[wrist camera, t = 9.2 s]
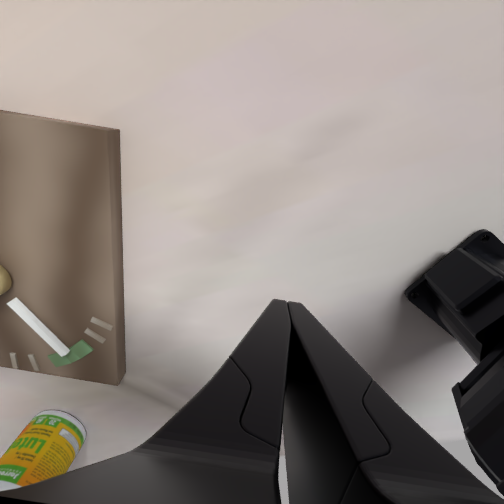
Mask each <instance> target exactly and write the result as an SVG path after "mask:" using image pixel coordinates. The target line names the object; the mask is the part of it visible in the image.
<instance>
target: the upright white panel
mask: <svg viewBox="0 0 504 504" xmlns="http://www.w3.org/2000/svg"><path fill="white" fill-rule="evenodd" d="M11 283H12V282H11V277H10V275H9V273H8V272H7V271H6V269H5V268H3V267H2V266H1V265H0V295H2V294H3V293H5V292H6V291H8V290H9V289H10V287H11ZM7 305H8V306H9V307H10V308H11V309H13V310H14V311H15V312H16V313H17V314H18V315H19V316H20V317H21V318H22V319H23V320H24V321H25V322H26V323H27V324H28V325H29V326H30V327H31V328H32V329H33V330H34V331H35V332H36V333H37V334H38V335H39V336H40V337H41V338H43V339H44V340H45V341H46V342H47V343H48V344H49V345H50V346H51V347H52V348H53V349H54V350H55V351H56V352H57V353H58V354H59V355H60V356H61V357H62V356H64V355H66V354H67V353H68V352H69V351H70V350H69V349H68V348H67V347H66V346H65V345H64V344H63V343H62V342H61V341H60V340H59V339H58V338H57V337H56V336H55V335H54V334H53V333H52V332H51V331H50V330H49V329H48V328H47V327H46V326H45V325H44V324H43V323H42V322H41V321H40V320H39V319H38V318H37V317H36V316H35V315H34V314H33V313H32V312H31V311H30V310H29V309H28V308H27V307H26V306H25V305H24V304H23V303H22V302H21V301H20V300H19V299H18V298H17V297H16V298H14V299H13V300H11V301H10V302H8V303H7Z"/></svg>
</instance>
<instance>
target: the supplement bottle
mask: <svg viewBox="0 0 504 504" xmlns="http://www.w3.org/2000/svg"><path fill="white" fill-rule="evenodd" d="M85 438H86V431H85V429H84V427H83V425H82V424H81V423H80V422H79V421H78V420H77V419H76V418H74V417H73V416H71V415H69V414H67V413H65V412H62V411H57V410H47V411H43V412H40V413H39V414H37V415H36V416H35V417H34V418H33V419H32V420H31V421H30V423H29V424H28V425H27V426H26V427H25V429H24V430H23V431H22V432H21V434H20V435H19V436H18V437H17V439H16V440H15V441H14V442H13V444H12V445H11V446H10V447H9V449H8V450H7V451H6V452H5V454H4V455H3V456H2V457H1V458H0V491H4V490H9V489H15V488H19V487H23V486H27V485H30V484H34V483H37V482H40V481H43V480H46V479H49V478H52V477H55V476H58V475H61V474H64V473H66V472H67V470H68V468H69V467H70V465H71V463H72V462H73V460H74V458H75V456H76V455H77V453H78V451H79V450H80V448H81V446H82V445H83V443H84V441H85Z"/></svg>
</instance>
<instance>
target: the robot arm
mask: <svg viewBox="0 0 504 504" xmlns="http://www.w3.org/2000/svg"><path fill="white" fill-rule="evenodd" d="M484 235H486V236H485V238H484V239H483V240H481V238H482V237H483V236H484ZM414 292H416V294H415V295H413V296H411V294H412V293H414ZM405 295H406V297H407V298H408V299H409V301H411V302H412V303H413V304H414V305H416V306H417V307H418V308H419V309H420V310H422V311H423V312H424V313H425V314H426V315H428V316H429V317H430V318H431V319H432V320H434V321H435V322H436V323H437V324H438V325H440V326H441V327H442V328H443V329H445V330H446V331H447V332H448V333H449V334H451V335H452V336H453V337H454V338H455V339H457V341H458V342H459V343H460V344H461V345H462V347H463V348H464V349H465V350H466V351H467V353H468V354H469V355H470V356H471V358H472V359H473V360H474V361H475V362H476V364H477V366H476V367H475V368H474V369H473V370H472V371H471V372H470V373H469V374H468V375H467V376H466V377H465V378H464V379H463V381H462V382H461V383H459V382H458V383H457V384H456V385H455V386H454V387H453V388H452V393H453V396H454V399H455V402H456V406H457V409H458V412H459V415H460V419H461V422H462V425H463V428H464V433H465V437H466V440H467V441H468V445H469V447H470V449H471V452H472V454H473V455H474V457H475V460H476V462H477V464H478V465H479V466H480V467H481V468H482V469H483V470H484V472H485V473H486V474H487V475H488V477H489V478H490V479H491V480H492V481H493V482H494V484H496V487H497V489H498V490H499V492H500V493H501V494H502V495H503V496H504V244H503V243H502V242H501V241H500V240H499V239H498V238H497V237H496V236H495V235H494V234H493V233H491V232H489V231H488V230H485V229H482V230H479V231H477V232H476V233H474V234H473V235H472V236H471V237H470V238H468V239H467V240H466V241H465V242H464V243H462V244H461V245H460V246H459V247H457V248H456V249H454V250H453V251H452V252H451V253H450V254H448V255H447V256H446V257H445V258H443V259H442V260H441V261H440V262H439V263H437V264H436V265H435V266H434V267H433V268H431V269H430V270H429V271H428V272H426V274H425V275H423V276H422V277H421V278H420V279H419V280H417V281H416V282H415V283H414V284H412V285H411V286H410V287H409V288H408V289H407V290H406V292H405ZM372 380H373V379H372V378H371V377H370V376H369V374H368V373H367V372H366V371H365V370H364V369H363V368H362V367H361V366H360V365H359V364H358V363H357V362H356V361H355V360H354V359H353V357H352V356H351V355H350V354H349V353H348V352H347V351H346V350H345V349H344V348H343V347H342V346H341V345H340V344H339V343H338V342H337V340H336V339H335V338H334V337H333V336H332V335H331V334H330V333H329V332H328V331H327V330H326V329H325V328H324V327H323V326H322V325H321V323H320V322H319V321H318V320H317V319H316V318H315V317H314V316H313V315H312V314H311V313H310V312H309V311H308V310H307V309H306V308H305V306H304V305H303V304H301V303H297V302H291V301H289V302H286V301H285V300H278V299H273V300H272V301H271V302H270V304H269V305H268V306H267V308H266V309H265V310H264V312H263V313H262V314H261V315H260V317H259V318H258V319H257V321H256V322H255V323H254V325H253V326H252V327H251V329H250V330H249V331H248V333H247V334H246V335H245V337H244V338H243V339H242V340H241V342H240V343H239V344H238V346H237V347H236V348H235V350H234V351H233V352H232V354H231V355H230V356H229V358H228V359H227V360H226V361H225V363H224V364H223V365H222V366H221V368H220V369H219V370H218V371H217V373H216V374H215V375H214V376H213V377H212V379H211V380H210V381H209V382H208V383H207V384H206V385H205V386H204V387H203V388H202V389H201V390H200V391H199V392H198V393H197V394H196V395H195V396H194V397H193V398H192V399H191V400H190V401H189V402H188V403H187V404H186V405H185V406H184V407H182V408H181V409H180V410H179V411H178V412H177V413H176V414H175V415H174V416H173V417H172V418H171V419H170V420H169V421H168V422H167V423H166V424H165V425H164V426H163V427H162V428H161V429H159V430H158V431H157V432H156V433H155V434H154V435H153V436H152V437H151V438H149V439H148V440H147V441H146V442H144V443H143V444H141V445H140V446H138V447H137V448H135V449H133V450H132V451H130V452H127V453H125V454H122V455H119V456H116V457H113V458H110V459H107V460H104V461H101V462H98V463H95V464H91V465H88V466H85V467H82V468H79V469H76V470H73V471H70V472H67V473H64V474H61V475H58V476H55V477H52V478H49V479H46V480H43V481H40V482H37V483H34V484H30V485H27V486H23V487H19V488H15V489H9V490H4V491H0V504H281V498H280V490H279V483H278V469H279V452H280V445H281V434H282V423H283V434H284V446H285V458H286V470H287V481H288V493H289V504H504V499H502V498H501V497H499V496H498V495H496V494H495V493H494V492H493V491H491V490H490V489H489V488H488V487H487V486H485V485H484V484H483V483H482V482H481V481H480V480H478V479H477V478H476V477H475V476H474V475H473V474H472V473H471V472H470V471H468V470H467V469H466V468H465V467H464V466H463V465H462V464H461V463H460V462H459V461H458V460H456V459H455V458H454V457H453V456H452V455H451V454H450V453H449V452H448V451H447V450H445V449H444V448H443V447H442V446H441V445H440V444H439V443H438V442H437V441H436V440H435V439H433V438H432V437H431V436H430V435H429V434H428V433H427V432H426V431H425V430H424V429H423V428H421V427H420V426H419V425H418V424H417V423H416V422H415V421H414V420H413V419H412V418H411V417H410V416H409V415H408V414H407V413H406V412H405V411H403V410H402V409H401V408H400V407H399V406H398V405H397V404H396V403H395V402H394V400H393V399H392V398H391V397H390V396H389V395H388V394H387V393H386V392H385V391H384V390H383V389H382V388H381V387H380V386H379V385H378V384H377V383H376V382H375V381H372Z"/></svg>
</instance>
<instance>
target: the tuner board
mask: <svg viewBox="0 0 504 504" xmlns="http://www.w3.org/2000/svg"><path fill="white" fill-rule="evenodd" d="M0 265H1V266H2V267H3V268H5V269H6V271H7V272H8V273H9V275H10V277H11V282H12V283H11V287H10V289H9V290H8V291H6V292H5V293H3V294H2V295H0V366H1V367H7V368H13V369H19V370H25V371H31V372H37V373H43V374H49V375H55V376H61V377H67V378H73V379H79V380H85V381H91V382H98V383H104V384H110V385H116V386H118V384H119V383H120V381H121V379H122V378H123V376H124V374H125V373H126V364H125V325H124V285H123V245H122V205H121V166H120V130H119V129H113V128H106V127H100V126H94V125H88V124H82V123H76V122H70V121H64V120H58V119H52V118H46V117H40V116H34V115H27V114H21V113H15V112H9V111H3V110H0ZM16 297H17V298H18V299H19V300H20V301H21V302H22V303H23V304H24V305H25V306H26V307H27V308H28V309H29V310H30V311H31V312H32V313H33V314H34V315H35V316H36V317H37V318H38V319H39V320H40V321H41V322H42V323H43V324H44V325H45V326H46V327H47V328H48V329H49V330H50V331H51V332H52V333H53V334H54V335H55V336H56V337H57V338H58V339H59V340H60V341H61V342H62V343H63V344H64V345H65V346H66V347H67V348H68V349H69V350H70V351H69V352H68V353H67V354H66V355H64V356H62V357H61V356H60V355H59V354H58V353H57V352H56V351H55V350H54V349H53V348H52V347H51V346H50V345H49V344H48V343H47V342H46V341H45V340H44V339H43V338H41V337H40V336H39V335H38V334H37V333H36V332H35V331H34V330H33V329H32V328H31V327H30V326H29V325H28V324H27V323H26V322H25V321H24V320H23V319H22V318H21V317H20V316H19V315H18V314H17V313H16V312H15V311H14V310H13V309H11V308H10V307H9V306H8V305H7V303H8V302H10V301H11V300H13V299H14V298H16Z"/></svg>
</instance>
